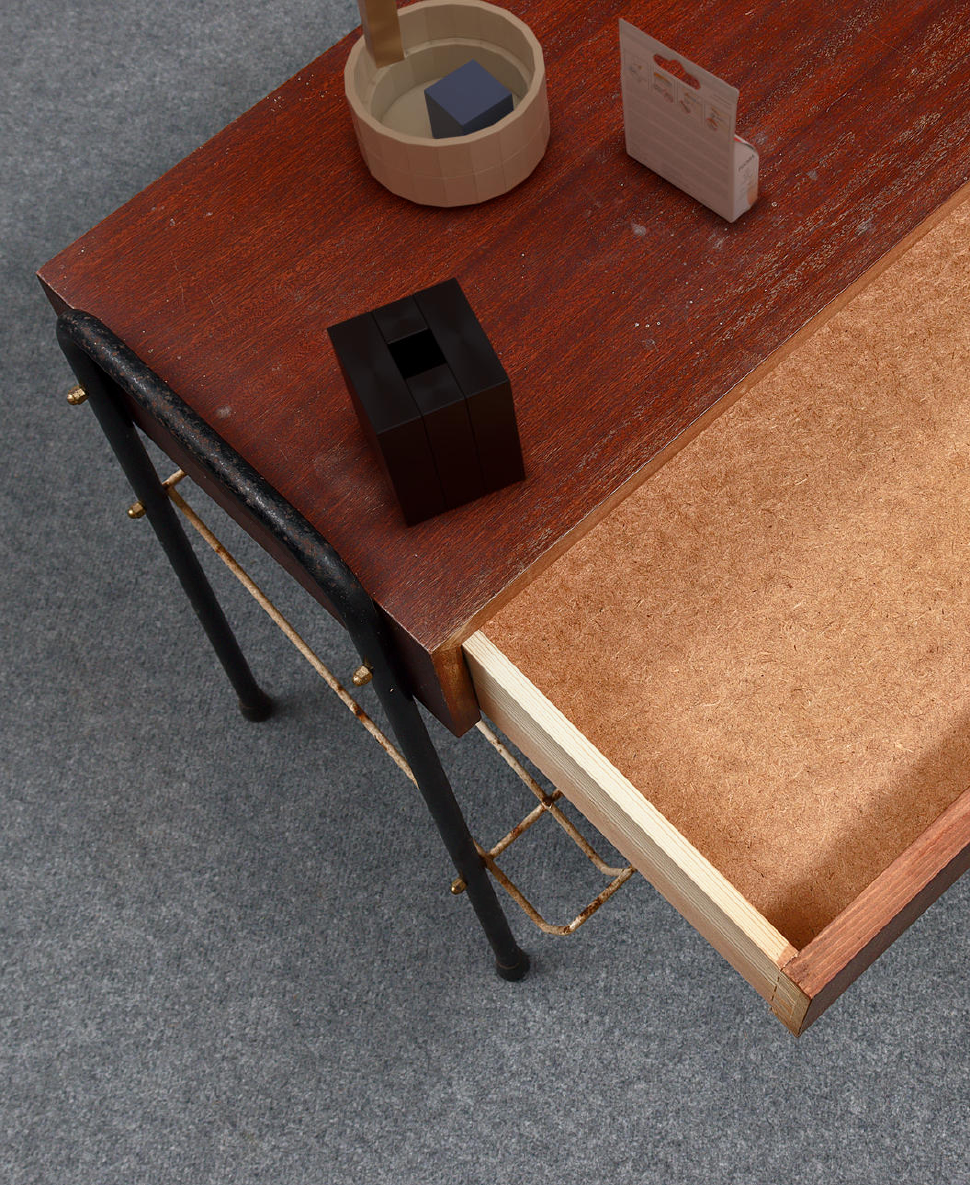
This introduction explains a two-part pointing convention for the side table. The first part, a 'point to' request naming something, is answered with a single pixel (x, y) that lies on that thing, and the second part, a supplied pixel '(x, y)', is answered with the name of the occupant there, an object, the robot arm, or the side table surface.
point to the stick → (381, 31)
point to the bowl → (400, 117)
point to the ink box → (685, 127)
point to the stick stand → (431, 400)
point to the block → (466, 102)
